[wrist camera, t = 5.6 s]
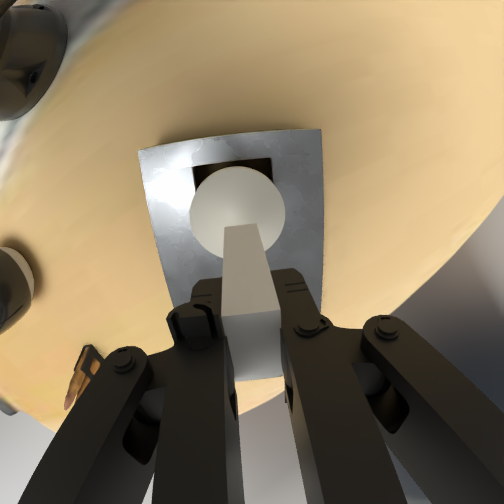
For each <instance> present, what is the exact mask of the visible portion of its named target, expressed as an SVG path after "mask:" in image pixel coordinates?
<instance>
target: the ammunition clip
mask: <svg viewBox="0 0 504 504" xmlns="http://www.w3.org/2000/svg"><path fill="white" fill-rule="evenodd" d="M103 361H104V359H103V358H102V356H101V355H100V354H99V353H98V352H97V350H96V349H95V348H94V347H93V345H86V346H84V347H83V349H82V351H81V354H80V356H79V358H78V361H77V363H76V365H75V368H74V371H75V372H74V374H73V377H72V379H71V381H70V385H69V389H68V392H67V395H66V398H65V403H64V409H65V410H67V409H68V408H69V407H70V406H71V404H72V402H73V400H74V398H75V396H76V394H77V397H76V401H77V400H78V398H79V397H80V395H81V394H82V392H83V391H84V389H85V388H86V386H87V385H88V383H89V382H90V380H91V379H92V377H93V376H94V374H95V373H96V371H97V370H98V368H99V367H100V366H101V364H102V363H103ZM76 401H75V403H76Z"/></svg>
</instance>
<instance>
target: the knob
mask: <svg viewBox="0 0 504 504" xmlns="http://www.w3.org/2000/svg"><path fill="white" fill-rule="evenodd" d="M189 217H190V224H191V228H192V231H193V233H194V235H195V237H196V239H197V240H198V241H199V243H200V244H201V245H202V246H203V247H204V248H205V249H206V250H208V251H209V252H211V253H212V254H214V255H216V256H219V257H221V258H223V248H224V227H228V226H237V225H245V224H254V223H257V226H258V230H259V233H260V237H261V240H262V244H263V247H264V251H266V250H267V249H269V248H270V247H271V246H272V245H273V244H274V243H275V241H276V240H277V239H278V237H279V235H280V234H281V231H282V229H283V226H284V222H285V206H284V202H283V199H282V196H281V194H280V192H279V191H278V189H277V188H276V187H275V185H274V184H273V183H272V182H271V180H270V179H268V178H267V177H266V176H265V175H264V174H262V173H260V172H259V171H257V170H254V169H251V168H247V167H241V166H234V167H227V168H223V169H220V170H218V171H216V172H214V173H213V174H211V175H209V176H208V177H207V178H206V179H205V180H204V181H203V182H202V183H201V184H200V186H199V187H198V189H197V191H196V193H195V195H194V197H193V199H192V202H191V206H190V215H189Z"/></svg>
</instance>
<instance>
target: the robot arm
mask: <svg viewBox="0 0 504 504" xmlns="http://www.w3.org/2000/svg"><path fill="white" fill-rule="evenodd" d="M16 1H17V0H0V121H7V120H13V119H16V118H18V117H20V116H22V115H24V114H25V113H26V112H28V111H29V110H30V109H31V108H32V107H33V106H34V105H35V104H36V103H37V102H38V101H39V100H40V98H41V97H42V96H43V94H44V93H45V92H46V90H47V89H48V87H49V85H50V84H51V82H52V80H53V78H54V77H55V75H56V73H57V70H58V68H59V66H60V63H61V61H62V58H63V55H64V51H65V47H66V41H67V25H66V21H65V19H64V17H63V15H62V14H61V13H60V12H59V11H57V10H55V9H53V8H51V7H49V6H47V5H42V4H36V5H21V6H12V5H13V4H14V3H15V2H16ZM166 320H167V323H168V326H169V329H170V332H171V335H172V338H173V340H174V346H173V347H171V348H169V349H167V350H165V351H162V352H159V353H155V354H152V355H148V356H147V355H146V353H145V352H144V351H143V350H142V349H140V348H138V347H135V346H126V347H122V348H118V349H117V350H115V351H113V352H111V353H110V354H109V355H108V356H107V357H106V358H105V360H104V361H103V363H102V364H101V366H100V367H99V368H98V370H97V371H96V373H95V374H94V376H93V377H92V379H91V380H90V382H89V383H88V385H87V386H86V388H85V389H84V391H83V392H82V394H81V395H80V397H79V398H78V400H77V401H76V403H75V404H74V406H73V407H72V409H71V411H70V412H69V414H68V415H67V417H66V419H65V420H64V422H63V423H62V425H61V427H60V428H59V430H58V431H57V433H56V435H55V437H54V438H53V440H52V441H51V443H50V445H49V447H48V448H47V450H46V452H45V453H44V455H43V457H42V459H41V460H40V462H39V464H38V466H37V468H36V469H35V471H34V473H33V475H32V477H31V479H30V481H29V483H28V485H27V486H26V488H25V490H24V492H23V494H22V496H21V498H20V500H19V502H18V504H142V502H143V499H144V497H145V494H146V492H147V489H148V486H149V484H150V482H151V479H152V476H153V474H154V481H153V493H152V504H245V501H244V489H243V478H242V464H241V451H240V436H239V421H238V404H237V394H236V390H235V382H239V381H249V380H258V379H266V378H273V377H280V376H283V374H284V379H285V403H288V408H289V413H290V418H291V423H292V428H293V433H294V438H295V443H296V448H297V454H298V459H299V464H300V469H301V474H302V479H303V484H304V489H305V494H306V499H307V504H407V501H406V498H405V495H404V493H403V489H402V487H401V484H400V481H399V479H398V476H397V473H396V470H395V468H394V465H393V462H392V460H391V457H390V455H389V452H388V450H387V447H386V444H387V446H388V447H389V448H390V450H391V451H392V452H393V454H394V455H395V456H396V457H397V459H398V460H399V461H400V463H401V464H402V465H403V467H404V468H405V469H406V470H407V472H408V473H409V474H410V476H411V477H412V478H413V480H414V481H415V482H416V484H417V485H418V486H419V487H420V489H421V490H422V491H423V492H424V494H425V495H426V497H427V498H428V499H429V500H430V501H431V503H432V504H504V413H503V412H502V411H501V410H500V409H499V408H498V407H497V406H496V405H495V404H494V403H493V402H492V401H491V400H490V399H489V398H488V397H487V396H486V395H485V394H484V393H483V392H482V391H480V389H478V388H477V387H476V386H475V385H474V384H473V383H472V382H471V381H470V380H469V379H468V378H467V377H466V376H465V375H464V374H463V373H461V372H460V371H459V370H458V369H457V368H456V367H455V366H454V365H453V364H452V363H450V362H449V361H448V360H447V359H446V358H445V357H444V356H443V355H442V354H440V353H439V352H438V351H437V350H436V349H435V348H434V347H432V345H430V344H429V343H428V342H427V341H426V340H425V339H424V338H422V337H421V336H420V335H419V334H418V333H416V332H415V331H414V330H413V329H412V328H411V327H410V326H408V325H407V324H406V323H405V322H404V321H402V320H400V319H399V318H397V317H393V316H390V315H378V316H374V317H372V318H370V319H369V320H367V321H366V323H365V325H364V326H363V329H347V328H340V327H336V326H333V324H332V322H331V321H330V320H329V319H328V318H327V317H325V316H323V315H321V314H320V312H319V310H318V308H317V306H316V304H315V301H314V299H313V297H312V295H311V293H310V290H309V288H308V286H307V284H306V283H305V280H304V278H303V275H302V274H301V273H300V272H298V271H297V270H296V269H294V268H287V269H279V270H271V271H270V269H269V265H268V262H267V258H266V255H265V251H264V247H263V244H262V240H261V237H260V233H259V230H258V226H257V223H254V224H245V225H237V226H228V227H224V248H223V274H222V277H219V278H210V279H200V280H199V281H198V282H197V283H196V284H195V285H194V286H193V288H192V293H191V298H190V302H187V303H184V304H181V305H179V306H177V307H175V308H174V309H173V310H172V311H171V312H169V314H168V316H167V318H166ZM234 378H235V381H234ZM385 443H386V444H385Z"/></svg>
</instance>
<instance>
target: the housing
mask: <svg viewBox="0 0 504 504" xmlns="http://www.w3.org/2000/svg"><path fill="white" fill-rule="evenodd" d="M138 155H139V162H140V168H141V173H142V179H143V184H144V190H145V195H146V200H147V205H148V210H149V214H150V219H151V223H152V228H153V232H154V236H155V241H156V245H157V249H158V253H159V257H160V261H161V264H162V268H163V272H164V276H165V279H166V283H167V286H168V290H169V293H170V297H171V300H172V303H173V307H174V308H175V307H177V306H179V305H181V304H184V303H187V302H190V298H191V293H192V288H193V286H194V285H195V284H196V283H197V282H198V281H199V280H200V279H210V278H219V277H222V274H223V258H221V257H219V256H216V255H214V254H212V253H211V252H209V251H208V250H206V249H205V248H204V247H203V246H202V245H201V244H200V243H199V241H198V240H197V239H196V237H195V235H194V233H193V231H192V228H191V224H190V217H189V215H190V206H191V202H192V199H193V197H194V195H195V193H196V191H197V187H196V181H195V174H194V167H193V166H198V165H205V164H213V163H220V162H228V161H237V160H246V159H257V158H268V157H270V166H271V179H272V183H273V184H274V185H275V187H276V188H277V189H278V191H279V192H280V194H281V196H282V199H283V202H284V206H285V222H284V226H283V229H282V231H281V234H280V235H279V237H278V239H277V240H276V241H275V243H274V244H273V245H272V246H271V247H270V248H269V249H267V250H266V251H265V255H266V258H267V262H268V265H269V269H270V271H271V270H279V269H287V268H294V269H296V270H297V271H298V272H300V273H301V274H302V275H303V278H304V280H305V283H306V284H307V286H308V288H309V290H310V293H311V295H312V297H313V299H314V301H315V304H316V306H317V308H318V310H319V312H321V296H322V275H323V240H324V192H323V158H322V138H321V129H280V130H265V131H253V132H242V133H233V134H224V135H216V136H209V137H202V138H195V139H189V140H183V141H177V142H171V143H166V144H161V145H156V146H152V147H149V148H145V149H141V150H138Z"/></svg>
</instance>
